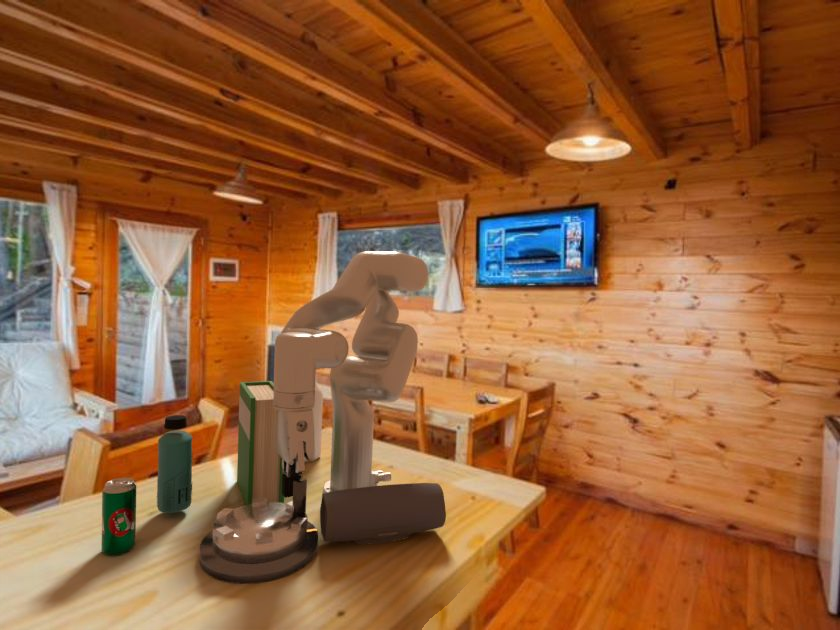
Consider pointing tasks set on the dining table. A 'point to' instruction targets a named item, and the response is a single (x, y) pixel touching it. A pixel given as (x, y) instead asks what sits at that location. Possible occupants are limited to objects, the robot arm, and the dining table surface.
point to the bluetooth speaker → (381, 512)
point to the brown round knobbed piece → (262, 528)
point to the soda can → (118, 516)
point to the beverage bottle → (174, 467)
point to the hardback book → (258, 444)
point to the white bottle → (317, 419)
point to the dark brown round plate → (257, 571)
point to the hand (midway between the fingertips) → (291, 494)
